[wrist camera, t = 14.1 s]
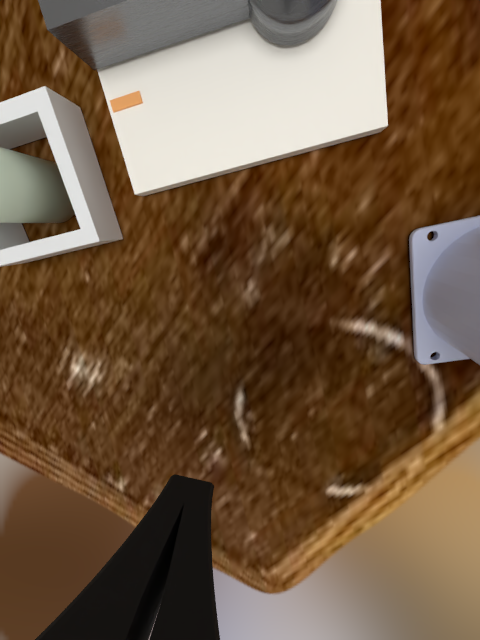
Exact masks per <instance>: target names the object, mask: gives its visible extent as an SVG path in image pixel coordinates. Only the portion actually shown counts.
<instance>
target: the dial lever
mask: <svg viewBox="0 0 480 640" xmlns="http://www.w3.org/2000/svg"><path fill="white" fill-rule="evenodd" d="M38 1H39V4H40V8H41V11H42V14H43V17H44V20H45V23H46V26H47V30H48V31H49V32H51V33H52V34H53V35H54V36H55V37H56V38H57V39H59V40H60V41H61V42H62V43H63V44H64V45H66V46H67V47H68V48H69V49H70V50H71V51H73V52H74V53H75V54H76V55H77V56H78V57H80V58H81V59H82V60H83V61H84V62H85V63H87V64H88V65H89V66H90V67H91V68H92V69H94V70H97V69H100V68H103V67H106V66H109V65H112V64H115V63H118V62H121V61H124V60H127V59H130V58H133V57H136V56H139V55H142V54H145V53H148V52H151V51H154V50H156V49H159V48H162V47H165V46H168V45H171V44H174V43H177V42H180V41H183V40H186V39H189V38H192V37H195V36H198V35H201V34H204V33H207V32H210V31H213V30H216V29H219V28H222V27H225V26H228V25H231V24H234V23H237V22H240V21H243V20H246V19H249V18H250V19H251V21H252V23H253V25H254V27H255V28H256V29H257V31H258V32H259V33H260V34H261V35H262V36H263V37H264V38H266V39H267V40H269V41H271V42H273V43H276V44H279V45H295V44H299V43H301V42H304V41H306V40H308V39H309V38H311V37H312V36H314V35H315V34H316V33H317V32H318V31H319V30H320V29H321V28H322V27H323V26H324V25H325V23H326V22H327V21H328V19H329V18H330V16H331V14H332V12H333V10H334V8H335V6H336V3H337V0H38Z"/></svg>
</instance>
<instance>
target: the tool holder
mask: <svg viewBox="0 0 480 640" xmlns="http://www.w3.org/2000/svg"><path fill="white" fill-rule="evenodd" d="M45 137H47V138H48V141H49V144H50V146H51V149H52V152H53V155H54V157H55V160H56V163H57V166H58V168H59V171H60V174H61V176H62V179H63V182H64V185H65V187H66V190H67V193H68V196H69V198H70V201H71V204H72V207H73V209H74V212H75V215H76V217H77V220H78V223H79V226H80V228H81V229H79V230H75V231H72V232H68V233H64V234H60V235H56V236H52V237H48V238H44V239H41V240H37V241H33V242H29V239H28V237H27V235H26V232H25V230H24V228H23V225H22V223H0V267H1V266H8V265H14V264H21V263H27V262H31V261H35V260H39V259H43V258H48V257H52V256H56V255H60V254H64V253H68V252H72V251H76V250H80V249H84V248H88V247H93V246H97V245H101V244H105V243H109V242H113V241H117V240H121V239H123V237H122V233H121V230H120V227H119V224H118V221H117V218H116V215H115V212H114V209H113V206H112V203H111V200H110V197H109V194H108V191H107V188H106V185H105V182H104V179H103V175H102V172H101V169H100V166H99V163H98V160H97V157H96V154H95V151H94V148H93V145H92V142H91V139H90V136H89V133H88V130H87V127H86V124H85V121H84V117H83V114H82V111H81V108H80V107H79V106H77V105H75V104H74V103H72V102H71V101H69V100H67V99H66V98H64V97H62V96H61V95H59V94H57V93H56V92H54V91H52V90H51V89H49V88H47V87H46V86H44V87H42V88H39V89H36V90H33V91H31V92H28V93H25V94H22V95H20V96H17V97H14V98H11V99H9V100H6V101H3V102H1V103H0V147H2V148H5V149H12V148H15V147H18V146H21V145H24V144H27V143H30V142H33V141H36V140H39V139H42V138H45Z"/></svg>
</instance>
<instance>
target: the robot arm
mask: <svg viewBox="0 0 480 640" xmlns="http://www.w3.org/2000/svg"><path fill="white" fill-rule="evenodd" d="M431 231H432V232H433V233H434V237H433V238H432V240H430V241H429V240H428V239H427V235H428V233H429V232H431ZM409 249H410V271H411V294H412V316H413V338H414V357H415V359H416V360H417V361H418V362H419V363H420V364H424V365H426V364H434V363H441V362H449V361H456V360H464V359H472V360H473V361H474V362H476V363H477V364H479V365H480V216H475V217H470V218H465V219H460V220H456V221H451V222H446V223H441V224H437V225H432V226H427V227H422V228H418V229H416V230H414V231H413V232H412V233H411V235H410V237H409ZM434 352H436V355H435V356H434V357H430V356H431V354H432V353H434ZM213 489H214V486H213V484H212V483H210V482H206V481H202V480H197V479H193V478H188V477H184V476H180V475H173V476H171V477H170V479H169V481H168V483H167V484H166V486H165V487H164V489H163V491H162V492H161V494H160V495H159V497H158V498H157V500H156V501H155V502H154V504H153V505H152V507H151V508H150V509H149V511H148V512H147V514H146V515H145V516H144V518H143V519H142V520H141V521H140V523H139V524H138V525H137V527H136V528H135V529H134V531H133V532H132V533H131V534H130V536H129V537H128V538H127V539H126V541H125V542H124V543H123V544H122V546H121V547H120V548H119V549H118V550H117V552H116V553H115V554H114V555H113V556H112V558H111V559H110V560H109V561H108V562H107V563H106V565H105V566H104V567H103V568H102V569H101V571H100V572H99V573H98V574H97V575H96V576H95V577H94V578H93V580H92V581H91V582H90V583H89V584H88V585H87V586H86V587H85V588H84V589H83V591H82V592H81V593H80V594H79V595H78V596H77V597H76V598H75V599H74V600H73V602H72V603H70V604H69V606H68V607H67V608H66V609H65V610H64V611H63V612H62V613H61V614H60V615H59V616H58V617H57V618H56V619H55V620H54V621H53V622H52V623H51V624H50V625H49V626H48V627H47V628H46V629H45V631H43V632H42V633H41V634H40V635H39V636H38V637H37V638H36V639H35V640H148V638H149V635H150V633H151V630H152V627H153V624H154V621H155V619H156V621H155V624H154V627H153V631H152V634H151V637H150V640H220V636H219V628H218V620H217V612H216V602H215V592H214V582H213V569H212V549H211V506H212V496H213ZM160 604H161V605H160ZM159 607H160V608H159ZM158 610H159V611H158ZM157 613H158V614H157ZM156 616H157V618H156Z"/></svg>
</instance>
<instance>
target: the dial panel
mask: <svg viewBox="0 0 480 640" xmlns="http://www.w3.org/2000/svg"><path fill="white" fill-rule="evenodd" d="M97 71H98V74H99V77H100V81H101V84H102V87H103V90H104V94H105V97H106V100H107V104H108V107H109V110H110V114H111V117H112V120H113V124H114V127H115V130H116V133H117V137H118V140H119V143H120V147H121V150H122V153H123V157H124V160H125V163H126V166H127V170H128V173H129V176H130V180H131V183H132V186H133V190H134V193H135V195H140V196H146V195H149V194H153V193H157V192H161V191H164V190H168V189H172V188H175V187H179V186H183V185H186V184H190V183H194V182H198V181H201V180H205V179H209V178H212V177H216V176H220V175H224V174H227V173H231V172H235V171H238V170H242V169H246V168H250V167H253V166H257V165H261V164H264V163H268V162H272V161H276V160H279V159H283V158H287V157H290V156H294V155H298V154H301V153H305V152H309V151H313V150H316V149H320V148H324V147H327V146H331V145H335V144H339V143H342V142H346V141H350V140H353V139H357V138H361V137H365V136H368V135H372V134H376V133H379V132H381V131H382V130H383V129H385V128H386V127H387V126H388V120H387V103H386V86H385V69H384V52H383V35H382V19H381V2H380V0H337V3H336V6H335V8H334V10H333V12H332V14H331V16H330V18H329V19H328V21H327V22H326V23H325V25H324V26H323V27H322V28H321V29H320V30H319V31H318V32H317V33H316V34H315V35H314V36H312V37H311V38H309V39H308V40H306V41H304V42H301V43H299V44H295V45H279V44H276V43H273V42H271V41H269V40H267V39H266V38H264V37H263V36H262V35H261V34H260V33H259V32H258V31H257V29H256V28H255V27H254V25H253V23H252V21H251V19H250V18H249V19H246V20H243V21H240V22H237V23H234V24H231V25H228V26H225V27H222V28H219V29H216V30H213V31H210V32H207V33H204V34H201V35H198V36H195V37H192V38H189V39H186V40H183V41H180V42H177V43H174V44H171V45H168V46H165V47H162V48H159V49H156V50H154V51H151V52H148V53H145V54H142V55H139V56H136V57H133V58H130V59H127V60H124V61H121V62H118V63H115V64H112V65H109V66H106V67H103V68H100V69H97Z"/></svg>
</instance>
